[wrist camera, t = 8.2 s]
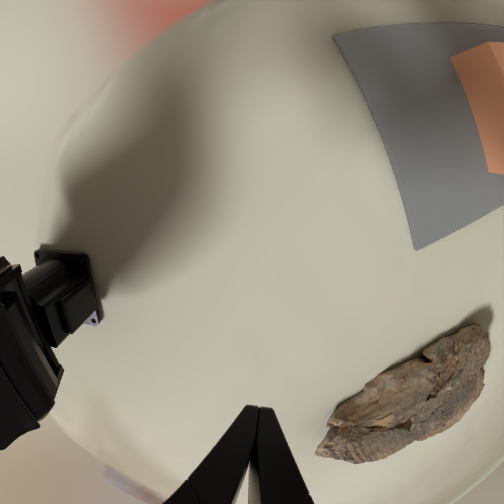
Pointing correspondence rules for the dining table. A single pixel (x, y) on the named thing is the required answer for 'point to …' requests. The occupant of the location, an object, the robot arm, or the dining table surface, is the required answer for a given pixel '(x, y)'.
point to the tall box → (485, 96)
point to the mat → (427, 120)
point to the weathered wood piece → (410, 400)
